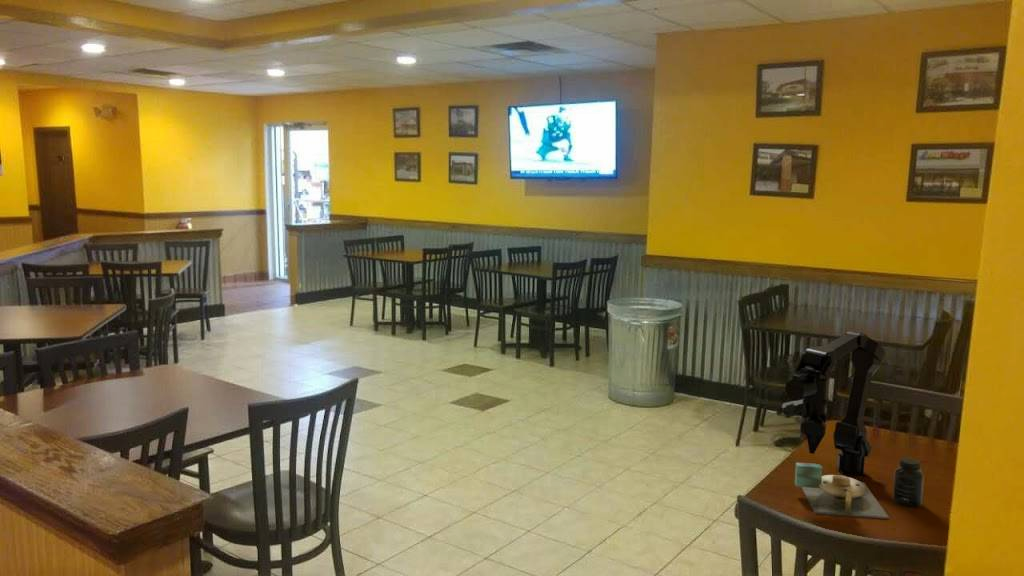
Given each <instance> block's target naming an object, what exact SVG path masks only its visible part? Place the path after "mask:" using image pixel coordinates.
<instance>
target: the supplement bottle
mask: <svg viewBox="0 0 1024 576" xmlns="http://www.w3.org/2000/svg"><path fill="white" fill-rule="evenodd" d="M894 471H895V472H894V481H893V495H892V496H893V497H892V498H893V501H894V503H895V504H896V505H899V506H901V507H903V508H909V509H911V508H912V509H913V508H915V509H917V508H920V507H921V505H922V502H923V492H924V479H925V477H924V476H925V475H924V474H923V472H922V471H921V461H920V460H919V459H916V458H912V457H901V458H900V460H899V467H898V468H896V469H895V470H894Z"/></svg>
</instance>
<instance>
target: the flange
mask: <svg viewBox="0 0 1024 576" xmlns="http://www.w3.org/2000/svg"><path fill="white" fill-rule="evenodd" d="M794 470H795V471H794V485H795V487H797V488H801V487H808V488H819V489H821V490H822V491H824V492H826V493H828V494H831V495H835V496H839V497H846V491H851V492H852V498H854V497H860V496H863V495H864V494H865V485H866V484H865V485H864V484H863V483H861V482H862V481H859V480H857V479H855V478H853V477H848V476H846V475H844V474H827V475H826V474H825V475H823V466H822V464H820V463H808V462H795V469H794Z"/></svg>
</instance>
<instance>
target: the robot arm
mask: <svg viewBox="0 0 1024 576" xmlns="http://www.w3.org/2000/svg"><path fill="white" fill-rule="evenodd" d="M850 353H851V355H850V361H851V363H852V366H853V369H854V371H853V376H852V381H851V386H850V390H849V396H848V399H847V404H846V409H845V415H844V417H843V418H842V419H841V420H840V421H836V423H835V427H834V432H833V438H832V439H833V443H834V449H836V450H838V451H839V453H838V454H837V457H836V458H837V459H836V460H837V461H836V467H837V469H838V470H839V471H840V473H841V475H849V476H851V475H852V476H863V477H864V476H866V473H865V470H864V469H865V458H866V457H867V458H868V457H869V456H870V454H871V452H872V445H871V444H870V442H869V441H868V439H867V428H866V426H865V423H864V417H865V413H866V408H867V402H868V398H869V393H870V388H871V383H872V377H873V374H874V373H875V372H876V371H877V370H878V369H879V368H880V367H881V366H882V362H883V359H884V358H885V355H886V354H885V353H886V351H885V349H884V347H883V346H882V344H881V343H879V342H878V341H876V340H873V339H872V338H870V337H869V336H868V335H867V334H866V333H863V332H859V331H852V330H849V331H846V332H845V334H843V335H842V336H840V337H838V338H837V339H834V340H833V341H831V342H829V343H828V344H826V345H822V346H821V345H819V346H812V347H809V348H806V350H804V352H803V353H802V355H801V358H800V360H799V362H798V364H797V367H796V368H795V370H794V373H795V374H793V375H792V379H790V380H788V381H787V382H786V384H785V386H784V391H785V394H786V396H787V397H788V399H790V400H791V401H787V402H783V403H782V405H781V409H782V414H783V415H784V418H785V419H789V418H792V417H796V416H800V415H801V417H802V418H803V419H802V420H801V422H800V429H799V431H800V432H801V433H802V435H804V436H805V437H806V440H807V446H808V452H809V454H811V455H813V454H815V453H816V450H817V448H818V447H819V446H820V443H821V442H822V440H823V439H824V437H825V436H826V431H827V430H826V429H827V424H826V421H827V416H828V408H827V404H828V403H827V402H828V386H829V378H831V377H833V373H831V372H830V371H831V370H833V368H835V367H836V364H837V362H838V361H837V360H839V359H841V358H843V357H844V356H846V355H848V354H850Z"/></svg>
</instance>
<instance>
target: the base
mask: <svg viewBox="0 0 1024 576" xmlns="http://www.w3.org/2000/svg"><path fill="white" fill-rule="evenodd" d="M860 482H861V483H863V484H864V485H865V494H864V495H863V496H860V497H854V498H852V492H851V491H846V497H839V496H835V495H831V494H828V493H826V492H824V491H822V490H821V489H819V488H808V487H800V488H801V489H802V491H803V494H804V495H805V498H806V499H807V502H808V504H809V505H810V507H811V509H812V511H813V514H815V515H828V516H829V515H830V516H841V517H842V516H844V517H856V518H857V517H858V518H871V519H880V520H881V519H884V520H889V519H890V517H889V515H888V514H887V513H886V511H885V509H884V508H883V506H881V504H880V503H879V501H878V500H877V498H876V497H875V496H874V495H873V494H874V493H872V491H870V489H869V487H868V486H867V485H866V483H865V482H864V481H860Z"/></svg>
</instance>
